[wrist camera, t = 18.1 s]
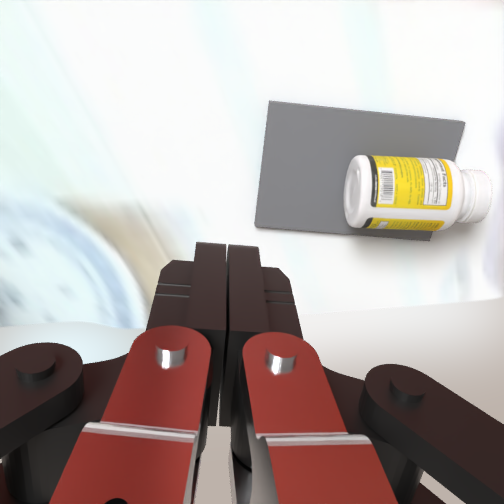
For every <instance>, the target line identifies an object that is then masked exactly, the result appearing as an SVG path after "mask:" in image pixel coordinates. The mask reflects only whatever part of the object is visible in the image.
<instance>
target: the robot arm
mask: <svg viewBox="0 0 504 504" xmlns="http://www.w3.org/2000/svg"><path fill="white" fill-rule="evenodd" d="M219 392H220V409H219V426H227V427H228V426H229V427H231V444H230V452H229V462H228V463H229V474H230V485H231V496H232V504H446V503H444V502H443V501H442V500H441V499H439V498H438V497H437V496H436V495H435V494H433V493H432V492H431V491H430V490H428V489H427V488H426V487H425V486H424V485H422V484H421V483H420V479H421V477H422V474H423V472H424V471H425V472H426V473H428V474H429V475H430V476H432V477H433V478H434V479H435V480H437V481H438V482H439V483H441V484H442V485H443V486H444V487H445V488H447V489H448V490H449V491H451V492H452V493H453V494H454V495H456V496H457V497H458V498H459V499H461V500H462V501H463V502H464V503H466V504H504V424H502V423H500V422H499V421H497V420H496V419H494V418H493V417H491V416H490V415H488V414H486V413H485V412H483V411H482V410H480V409H479V408H477V407H476V406H474V405H472V404H471V403H469V402H468V401H466V400H465V399H463V398H461V397H460V396H458V395H457V394H455V393H454V392H452V391H451V390H449V389H448V388H446V387H444V386H443V385H441V384H440V383H438V382H436V381H435V380H434V379H432V378H430V377H429V376H427V375H425V374H424V373H422V372H420V371H418V370H416V369H413V368H410V367H407V366H403V365H397V364H384V365H379V366H376V367H374V368H372V369H371V370H370V371H369V372H368V373H367V375H366V378H365V381H364V380H360V379H357V378H353V377H350V376H346V375H343V374H339V373H337V372H334V371H332V370H329V369H327V368H326V367H324V366H322V364H321V362H320V359H319V356H318V354H317V352H316V351H315V349H314V348H313V347H312V346H311V345H310V344H309V343H307V342H306V341H304V340H303V336H302V331H301V327H300V323H299V319H298V314H297V310H296V306H295V301H294V297H293V294H292V289H291V284H290V280H289V279H288V277H287V276H286V275H285V274H284V273H283V272H282V271H281V270H280V269H279V268H272V267H261V262H260V255H259V248H258V247H255V246H243V245H230V244H229V245H228V251H227V261H226V244H217V243H205V242H196V249H195V257H194V262H193V261H180V260H172V261H171V262H170V263H169V264H167V265H166V266H165V267H164V268H163V269H162V270H161V272H160V276H159V280H158V285H157V288H156V292H155V296H154V300H153V304H152V308H151V312H150V316H149V320H148V324H147V328H146V331H145V332H143V333H142V334H140V335H139V336H138V337H137V338H136V339H135V340H134V342H133V344H132V346H131V348H130V351H129V353H127V354H125V355H123V356H120V357H118V358H115V359H111V360H106V361H101V362H95V363H89V364H83V362H82V359H81V357H80V355H79V354H78V353H77V352H76V351H75V350H74V349H72V348H70V347H68V346H65V345H63V344H58V343H34V344H29V345H25V346H22V347H19V348H16V349H14V350H12V351H9V352H7V353H5V354H3V355H1V356H0V459H1V458H2V463H0V504H195V498H196V491H197V484H198V477H199V470H200V463H201V453H202V452H203V450H204V448H205V445H206V438H207V428H208V426H216V420H217V410H218V401H219Z"/></svg>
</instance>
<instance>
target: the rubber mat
mask: <svg viewBox="0 0 504 504" xmlns="http://www.w3.org/2000/svg"><path fill="white" fill-rule="evenodd" d="M464 126H465V122H463V121H457V120H448V119H438V118H429V117H419V116H410V115H400V114H391V113H381V112H372V111H362V110H353V109H343V108H334V107H324V106H315V105H305V104H296V103H286V102H277V101H269V106H268V114H267V122H266V131H265V139H264V148H263V156H262V164H261V173H260V181H259V190H258V198H257V206H256V215H255V223H254V224H255V226H256V227H268V228H280V229H292V230H304V231H316V232H328V233H339V234H351V235H363V236H375V237H387V238H399V239H411V240H423V241H430V238H431V235H432V231H425V230H401V229H375V228H355V227H351V226H350V225H349V224H348V222H347V220H346V216H345V211H344V186H345V180H346V175H347V171H348V167H349V164H350V162H351V160H352V159H353V158H354V157H355V156H358V155H369V156H371V155H373V156H395V157H415V158H437V159H447V160H450V161H452V162H454V159H455V155H456V152H457V149H458V146H459V142H460V139H461V136H462V132H463V129H464Z"/></svg>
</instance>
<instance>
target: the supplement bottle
mask: <svg viewBox="0 0 504 504" xmlns="http://www.w3.org/2000/svg"><path fill="white" fill-rule="evenodd" d="M491 200H492V184H491V180H490V178H489V176H488V174H487V173H486V172H484V171H481V170H470V169H466V170H460V169H459V167H458V166H457V165H456V164H455V163H454V162H452V161H450V160H447V159H437V158H415V157H395V156H373V155H371V156H369V155H358V156H355V157H354V158H353V159H352V160H351V162H350V164H349V167H348V171H347V175H346V180H345V186H344V211H345V216H346V220H347V222H348V224H349V225H350V226H351V227H355V228H375V229H401V230H425V231H441V230H445V229H447V228H449V227H450V226H452V225H453V224H454V222H455V221H457V222H460V223H478V222H480V221H482V220H483V219H484V218H485V216H486V215H487V213H488V211H489V208H490V205H491Z"/></svg>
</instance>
